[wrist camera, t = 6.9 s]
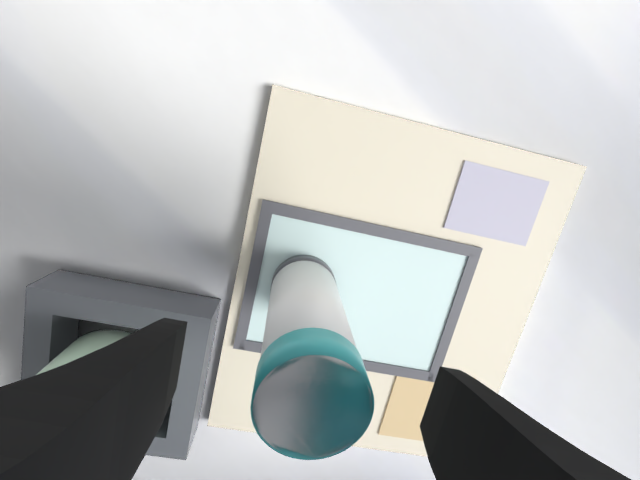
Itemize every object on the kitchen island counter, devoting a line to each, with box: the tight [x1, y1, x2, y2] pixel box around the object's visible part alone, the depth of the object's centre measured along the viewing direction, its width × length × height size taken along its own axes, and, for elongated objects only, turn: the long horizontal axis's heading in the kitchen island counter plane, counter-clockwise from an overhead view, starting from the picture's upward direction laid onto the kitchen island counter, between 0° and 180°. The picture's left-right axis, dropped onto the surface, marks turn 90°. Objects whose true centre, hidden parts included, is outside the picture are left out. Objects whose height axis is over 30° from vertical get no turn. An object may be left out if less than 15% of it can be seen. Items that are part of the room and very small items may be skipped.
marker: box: [250, 255, 374, 460], centre depth 12 cm, size 3×3×8 cm
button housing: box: [21, 270, 221, 460], centre depth 16 cm, size 7×7×2 cm
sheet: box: [207, 85, 587, 457], centre depth 17 cm, size 16×14×1 cm
